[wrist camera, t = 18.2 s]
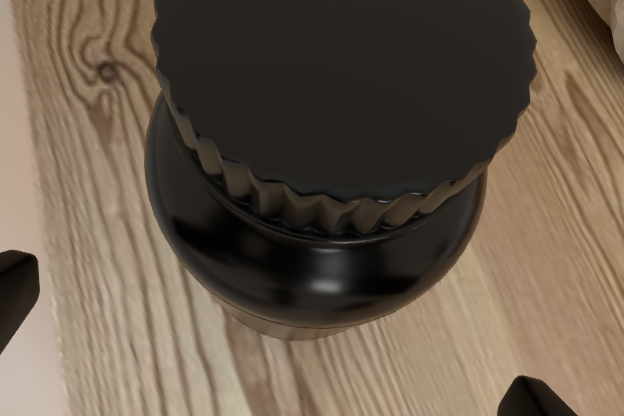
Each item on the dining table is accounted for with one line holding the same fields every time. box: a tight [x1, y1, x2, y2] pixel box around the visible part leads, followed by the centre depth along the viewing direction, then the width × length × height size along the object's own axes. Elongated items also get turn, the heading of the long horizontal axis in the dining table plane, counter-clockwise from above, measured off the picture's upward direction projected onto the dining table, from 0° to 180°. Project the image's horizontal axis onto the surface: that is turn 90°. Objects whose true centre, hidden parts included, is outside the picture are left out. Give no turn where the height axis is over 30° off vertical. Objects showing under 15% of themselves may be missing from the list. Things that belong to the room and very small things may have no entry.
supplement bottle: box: [144, 0, 537, 341], centre depth 11 cm, size 7×7×12 cm
